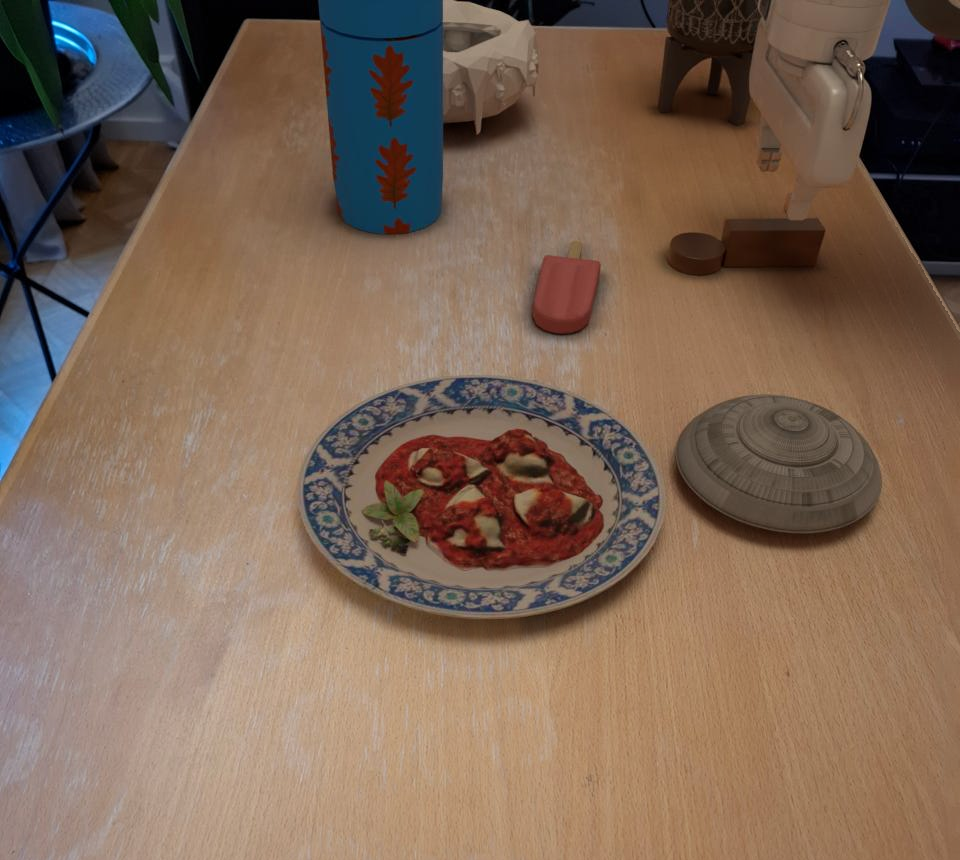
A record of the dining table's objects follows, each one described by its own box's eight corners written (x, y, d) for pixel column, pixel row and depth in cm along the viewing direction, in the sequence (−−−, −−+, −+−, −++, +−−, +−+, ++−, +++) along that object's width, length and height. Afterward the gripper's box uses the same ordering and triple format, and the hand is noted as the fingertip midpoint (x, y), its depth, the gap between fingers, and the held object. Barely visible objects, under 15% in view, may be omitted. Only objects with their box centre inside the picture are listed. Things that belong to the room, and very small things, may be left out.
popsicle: (605, 237, 94) (589, 322, 85) (603, 253, 95) (587, 338, 86) (550, 231, 95) (527, 314, 85) (548, 247, 96) (526, 330, 86)
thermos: (344, 239, 96) (319, -70, 77) (328, 189, 103) (302, -106, 84) (453, 229, 98) (456, -75, 79) (431, 181, 105) (429, -110, 86)
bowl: (321, 115, 115) (313, 17, 107) (440, 67, 125) (439, -25, 118) (456, 171, 106) (457, 69, 99) (571, 115, 117) (580, 19, 109)
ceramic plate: (600, 382, 82) (605, 350, 79) (714, 608, 65) (724, 577, 63) (285, 416, 77) (280, 383, 75) (322, 666, 61) (317, 635, 59)
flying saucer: (809, 404, 80) (829, 344, 76) (916, 525, 71) (945, 465, 67) (640, 435, 77) (651, 375, 73) (728, 566, 68) (747, 505, 64)
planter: (663, 80, 124) (690, -91, 111) (766, 97, 122) (806, -76, 108) (639, 119, 116) (665, -60, 103) (748, 138, 114) (789, -43, 100)
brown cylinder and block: (803, 246, 98) (814, 210, 95) (819, 273, 94) (830, 237, 91) (662, 248, 97) (669, 211, 94) (673, 275, 93) (680, 238, 90)
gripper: (909, 71, 73) (848, 249, 84) (826, -19, 87) (782, 144, 97) (827, 70, 73) (776, 248, 83) (756, -21, 86) (720, 143, 97)
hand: (779, 191), depth 90 cm, fingers open, 8 cm apart
